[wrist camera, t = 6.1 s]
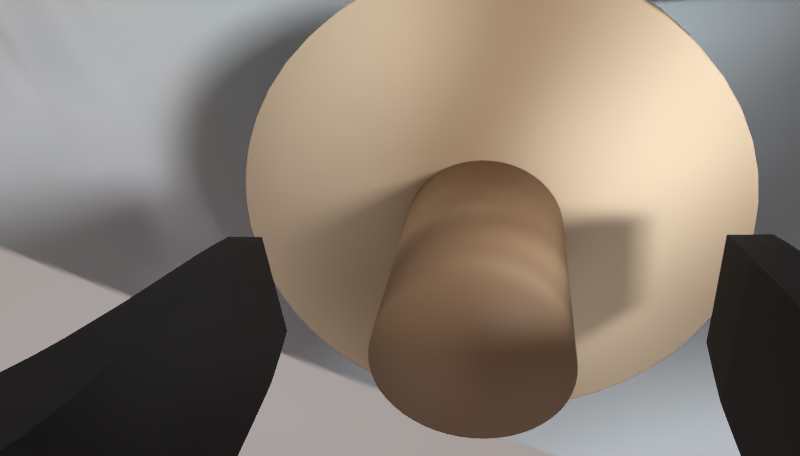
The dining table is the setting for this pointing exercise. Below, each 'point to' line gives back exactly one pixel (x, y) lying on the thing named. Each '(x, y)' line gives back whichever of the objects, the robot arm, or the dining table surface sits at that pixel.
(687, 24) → the dining table surface
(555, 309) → the lid
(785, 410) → the robot arm
